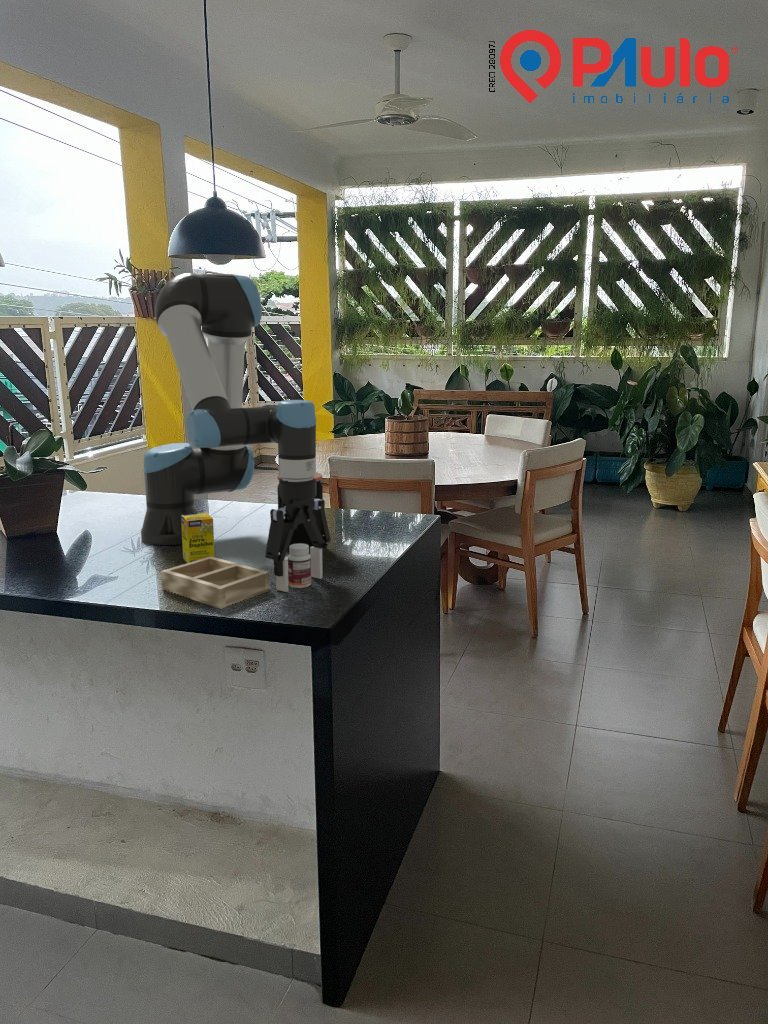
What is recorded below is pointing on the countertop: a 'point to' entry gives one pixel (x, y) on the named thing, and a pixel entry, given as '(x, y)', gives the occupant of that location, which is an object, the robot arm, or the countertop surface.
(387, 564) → the countertop surface
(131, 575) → the countertop surface
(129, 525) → the countertop surface
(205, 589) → the divided wooden tray
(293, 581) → the pill bottle
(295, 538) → the coffee jar
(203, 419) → the robot arm
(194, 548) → the supplement box
